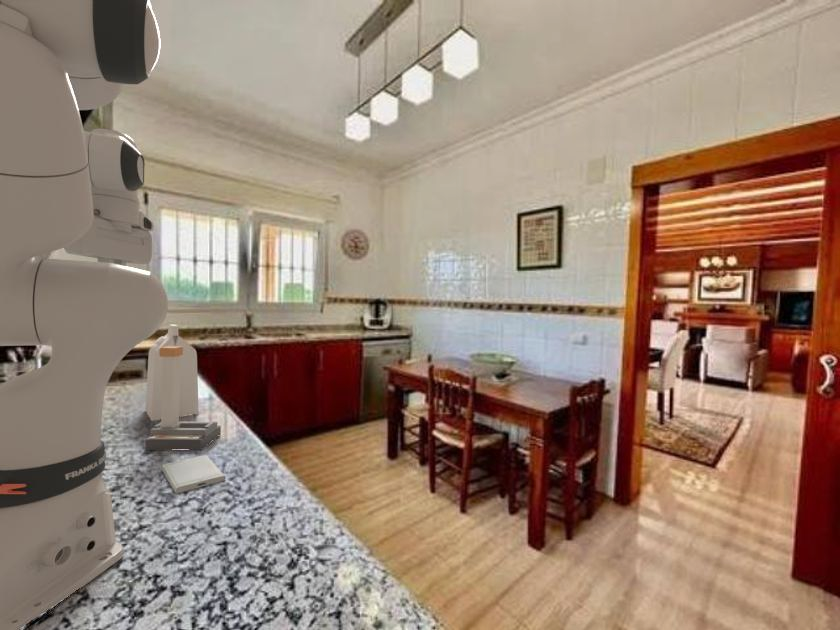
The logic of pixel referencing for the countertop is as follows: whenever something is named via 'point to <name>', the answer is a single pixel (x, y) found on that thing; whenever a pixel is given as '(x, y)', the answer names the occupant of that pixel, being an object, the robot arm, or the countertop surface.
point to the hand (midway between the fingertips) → (112, 282)
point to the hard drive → (192, 473)
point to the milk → (187, 376)
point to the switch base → (183, 436)
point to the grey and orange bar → (170, 386)
